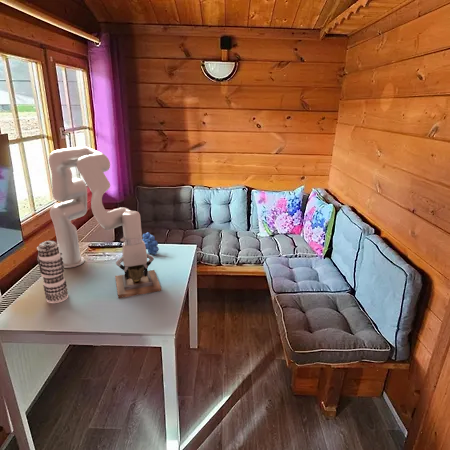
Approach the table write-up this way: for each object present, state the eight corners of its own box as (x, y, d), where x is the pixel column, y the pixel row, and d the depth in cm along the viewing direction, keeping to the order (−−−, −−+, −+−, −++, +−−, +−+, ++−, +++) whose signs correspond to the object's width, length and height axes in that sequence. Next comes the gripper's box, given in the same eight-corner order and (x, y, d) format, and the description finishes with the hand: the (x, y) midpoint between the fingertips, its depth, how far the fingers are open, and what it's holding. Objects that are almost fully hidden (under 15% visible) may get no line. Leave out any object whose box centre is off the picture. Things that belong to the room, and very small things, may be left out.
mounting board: (118, 298, 147) (117, 292, 146) (115, 278, 163) (114, 272, 162) (161, 290, 153) (160, 284, 152) (154, 272, 169) (154, 266, 168)
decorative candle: (45, 295, 150) (34, 240, 141) (69, 290, 153) (60, 237, 145) (44, 306, 142) (33, 249, 134) (69, 301, 145) (59, 245, 137)
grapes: (137, 253, 190) (135, 232, 185) (147, 249, 195) (145, 229, 191) (152, 259, 183) (150, 237, 179) (161, 254, 188) (160, 233, 184)
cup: (130, 286, 153) (128, 270, 150) (126, 279, 159) (124, 263, 156) (147, 283, 156) (146, 267, 154) (142, 275, 162) (141, 260, 160)
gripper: (112, 245, 145) (116, 283, 151) (155, 240, 150) (157, 277, 156) (111, 239, 151) (115, 275, 157) (152, 234, 157) (154, 269, 163)
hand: (136, 276), depth 157 cm, fingers open, 7 cm apart
